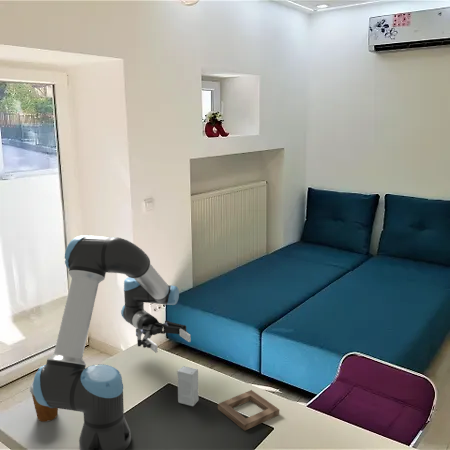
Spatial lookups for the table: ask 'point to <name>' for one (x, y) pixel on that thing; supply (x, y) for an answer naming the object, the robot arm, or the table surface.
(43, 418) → the disposable coffee cup
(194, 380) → the skincare box
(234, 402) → the square wooden frame
